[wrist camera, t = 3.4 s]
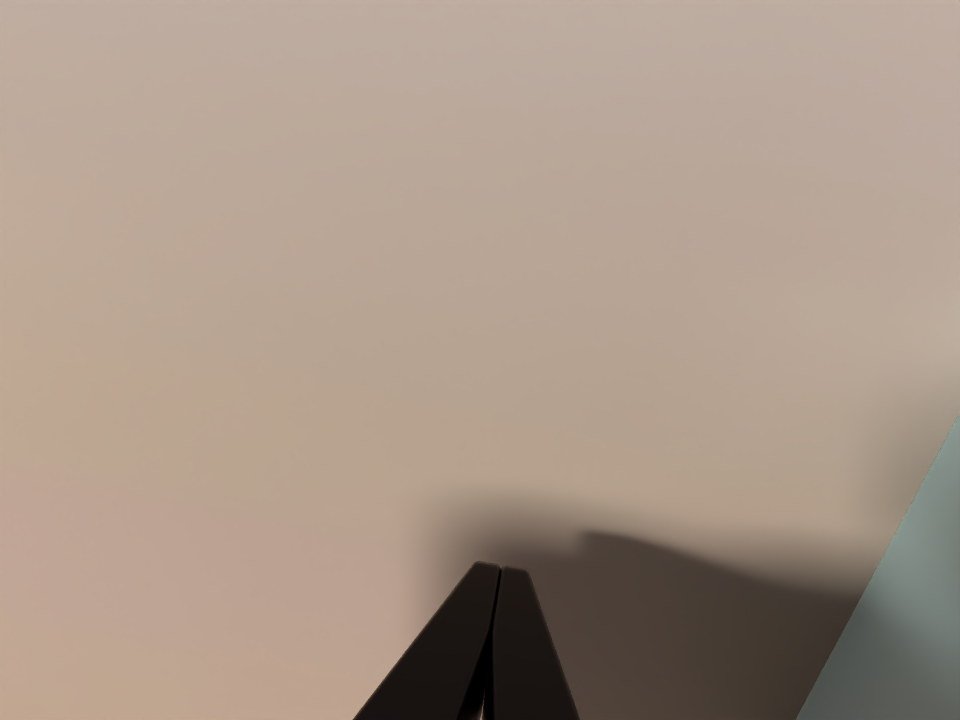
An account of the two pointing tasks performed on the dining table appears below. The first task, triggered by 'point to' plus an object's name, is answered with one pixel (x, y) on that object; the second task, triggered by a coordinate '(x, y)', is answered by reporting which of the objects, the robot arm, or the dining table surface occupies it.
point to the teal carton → (905, 617)
